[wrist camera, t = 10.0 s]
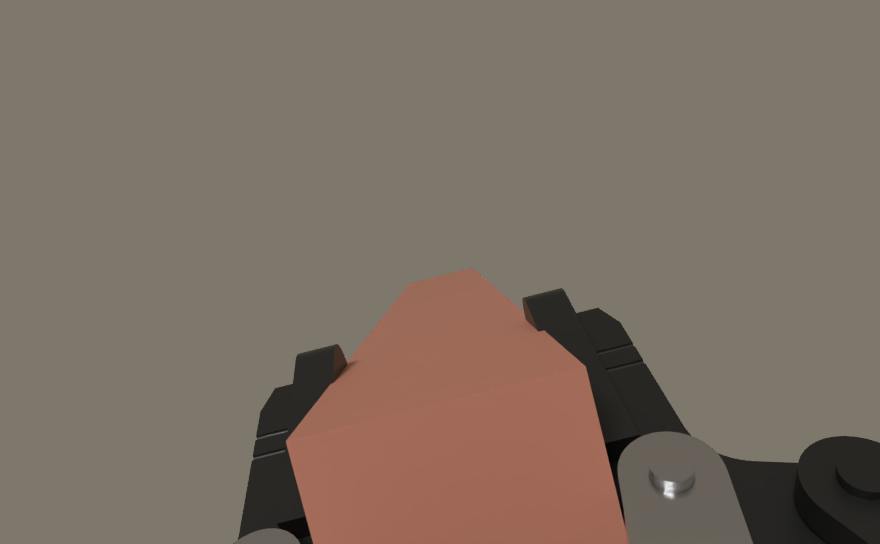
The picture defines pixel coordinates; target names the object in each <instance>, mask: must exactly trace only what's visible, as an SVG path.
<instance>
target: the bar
mask: <svg viewBox="0 0 880 544" xmlns="http://www.w3.org/2000/svg"><path fill="white" fill-rule="evenodd" d="M286 445H287V448H288V452H289V456H290V459H291V463H292V467H293V471H294V474H295V478H296V482H297V485H298V489H299V493H300V497H301V500H302V504H303V508H304V511H305V515H306V519H307V523H308V526H309V530H310V534H311V537H312V541H313V544H628V542H627V536H626V529H625V525H624V521H623V517H622V513H621V509H620V505H619V501H618V496H617V492H616V488H615V484H614V480H613V476H612V472H611V468H610V464H609V460H608V455H607V451H606V447H605V443H604V439H603V435H602V431H601V427H600V423H599V419H598V414H597V410H596V406H595V402H594V398H593V394H592V390H591V386H590V382H589V378H588V373H587V369H586V366H585V365H583V364H582V363H581V362H580V361H579V360H578V359H577V358H575V357H574V356H573V355H572V354H571V353H570V352H569V351H567V350H566V349H565V348H564V347H563V346H562V345H560V344H559V343H558V342H557V341H556V340H555V339H554V338H552V337H551V336H550V335H549V334H548V333H547V332H546V331H544V330H543V331H539V332H538V331H537V330H536V329H535V328H534V327H533V326H532V325H531V324H530V323H529V322H528V321H526V319H525V313H524V312H522V311H521V310H520V309H519V308H518V307H517V306H516V305H514V304H513V303H512V302H511V301H510V300H509V299H508V298H506V297H505V296H504V295H503V294H502V293H501V292H499V291H498V290H497V289H496V288H495V287H494V286H493V285H491V284H490V283H489V282H488V281H487V280H485V279H484V278H483V277H482V276H481V275H480V274H479V273H478V272H476V271H475V270H474V269H473V268H470V269H467V270H462V271H459V272H454V273H451V274H447V275H443V276H439V277H435V278H431V279H427V280H423V281H419V282H415V283H411V284H409V285H408V286H407V287H406V288H405V290H404V291H403V292H402V293H401V295H400V296H399V298H398V299H397V300H396V301H395V302H394V304H393V305H392V306H391V308H390V309H389V310H388V311H387V313H386V314H385V315H384V317H383V318H382V319H381V320H380V322H379V323H378V324H377V325H376V327H375V328H374V329H373V330H372V332H371V333H370V334H369V336H368V337H367V338H366V340H365V341H364V342H363V343H362V345H361V346H360V347H359V348H358V350H357V351H356V352H355V354H354V355H353V356H352V357H351V359H350V360H349V361H348V362H347V366H346V367H345V368H344V370H343V371H342V372H341V374H340V375H339V376H338V377H337V379H336V380H335V381H334V383H332V384H330V385H329V387H328V388H327V389H326V390H325V392H324V393H323V394H322V396H321V397H320V398H319V399H318V401H317V402H316V403H315V405H314V406H313V407H312V408H311V410H310V411H309V412H308V413H307V415H306V416H305V417H304V419H303V420H302V421H301V422H300V424H299V425H298V426H297V428H296V429H295V430H294V431H293V433H292V434H291V435H290V436H289V438H288V439H287V440H286Z"/></svg>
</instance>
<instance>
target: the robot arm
mask: <svg viewBox="0 0 880 544" xmlns="http://www.w3.org/2000/svg"><path fill="white" fill-rule="evenodd" d="M523 307H524V313H525V319H526V321H528V322H529V323H530V324H531V325H532V326H533V327H534V328H535V329H536V330H537V331H538V332H539V331H543V330H544V331H546V332H547V333H548V334H549V335H550V336H551V337H552V338H554V339H555V340H556V341H557V342H558V343H559V344H560V345H562V346H563V347H564V348H565V349H566V350H567V351H569V352H570V353H571V354H572V355H573V356H574V357H575V358H577V359H578V360H579V361H580V362H581V363H582V364H583V365H585V366H586V369H587V373H588V378H589V382H590V386H591V390H592V394H593V398H594V402H595V406H596V410H597V414H598V419H599V423H600V427H601V431H602V435H603V439H604V443H605V447H606V451H607V455H608V460H609V464H610V468H611V472H612V476H613V480H614V484H615V488H616V492H617V496H618V501H619V505H620V509H621V513H622V517H623V521H624V525H625V529H626V536H627V542H628V544H880V443H878V442H875V441H872V440H868V439H864V438H858V437H848V436H839V437H830V438H825V439H822V440H819V441H817V442H815V443H813V444H812V445H810V446H809V447H808V448H807V449H806V450H804V452H803V453H802V455H801V457H800V459H799V462H798V463H783V462H781V463H780V462H758V461H745V460H738V459H734V458H730V457H727V456H723V455H721V454H718V453H717V452H715V450H713V448H711V447H710V446H709V445H707V444H706V443H704V442H703V441H701V440H699V439H697V438H695V437H692V436H691V435H690V434H689V433H688V431H687V430H686V429H685V427H684V426H683V424H682V423H681V422H680V419H679V418H678V416H677V415H676V413H675V411H674V410H673V408H672V406H671V405H670V403H669V402H668V400H667V398H666V396H665V395H664V393H663V392H662V390H661V388H660V387H659V385H658V383H657V382H656V380H655V379H654V377H653V375H652V374H651V372H650V370H649V369H648V367H647V366H646V364H644V363H643V359H642V357H641V356H640V354H639V352H638V351H637V349H636V348H635V347H634V346H633V343H632V341H631V339H630V338H629V336H628V335H627V333H626V331H625V330H624V328H623V327H622V325H621V323H620V322H619V321H617V320H616V319H614V318H612V317H611V316H609V315H608V314H607V313H605V312H603V311H602V310H600V309H599V308H596V309H592V310H588V311H584V312H580V313H576V312H575V310H574V308H573V307H572V305H571V303H570V301H569V299H568V297H567V295H566V293H565V291H564V290H563V289H562V288H560V289H556V290H552V291H548V292H544V293H540V294H536V295H532V296H528V297H525V298H523ZM346 366H347V362H346V359H345V357H344V354H343V352H342V350H341V348H340V346H339V345H337V344H336V345H332V346H328V347H324V348H320V349H316V350H312V351H308V352H304V353H300V354H298V355H297V357H296V364H295V371H294V380H293V384H291V385H287V386H283V387H279V388H275V390H274V391H273V393H272V394H271V396H270V398H269V399H268V401H267V402H266V404H265V406H264V407H263V409H262V410H261V412H260V418H259V424H258V430H257V435H256V436H257V440H256V441H255V447H254V453H253V457H254V461H252V464H251V470H250V475H249V482H248V487H247V492H246V499H245V504H244V510H243V516H242V522H241V527H240V533H239V538H238V541H236V542H235V543H233V544H313V541H312V537H311V534H310V530H309V526H308V523H307V519H306V515H305V511H304V508H303V504H302V500H301V497H300V493H299V489H298V485H297V482H296V478H295V474H294V471H293V467H292V463H291V459H290V456H289V452H288V448H287V445H286V440H287V439H288V438H289V436H290V435H291V434H292V433H293V431H294V430H295V429H296V428H297V426H298V425H299V424H300V422H301V421H302V420H303V419H304V417H305V416H306V415H307V413H308V412H309V411H310V410H311V408H312V407H313V406H314V405H315V403H316V402H317V401H318V399H319V398H320V397H321V396H322V394H323V393H324V392H325V390H326V389H327V388H328V387H329V385H330V384H332V383H334V381H335V380H336V379H337V377H338V376H339V375H340V374H341V372H342V371H343V370H344V368H345V367H346Z"/></svg>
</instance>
